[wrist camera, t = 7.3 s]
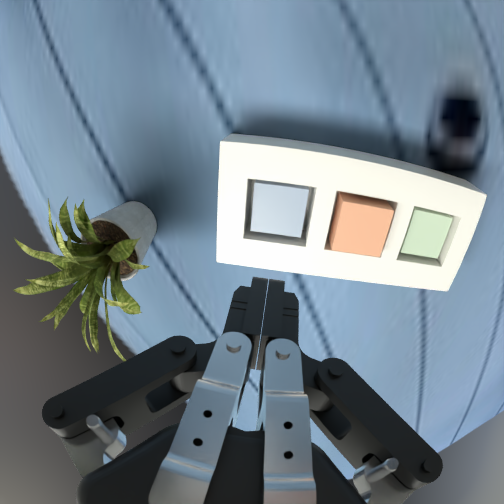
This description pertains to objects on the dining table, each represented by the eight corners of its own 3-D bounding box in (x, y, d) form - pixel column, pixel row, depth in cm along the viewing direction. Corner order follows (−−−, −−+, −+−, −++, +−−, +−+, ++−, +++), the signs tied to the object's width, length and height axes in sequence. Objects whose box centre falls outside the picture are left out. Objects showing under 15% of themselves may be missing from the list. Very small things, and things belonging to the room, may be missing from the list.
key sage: (393, 239, 26) (400, 252, 24) (405, 199, 24) (415, 209, 22) (428, 246, 26) (437, 258, 24) (442, 208, 24) (452, 218, 22)
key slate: (253, 219, 27) (250, 230, 25) (257, 174, 25) (254, 182, 23) (300, 225, 27) (300, 237, 25) (307, 181, 25) (309, 189, 23)
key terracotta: (328, 236, 26) (331, 250, 23) (338, 190, 23) (343, 201, 21) (373, 243, 25) (379, 257, 23) (386, 199, 23) (394, 210, 21)
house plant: (234, 223, 29) (183, 352, 15) (168, 296, 36) (115, 403, 22) (126, 138, 25) (0, 201, 12) (82, 228, 32) (-2, 311, 18)
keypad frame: (225, 239, 30) (216, 261, 27) (231, 133, 24) (220, 141, 21) (434, 268, 28) (447, 291, 25) (466, 180, 23) (487, 195, 19)
